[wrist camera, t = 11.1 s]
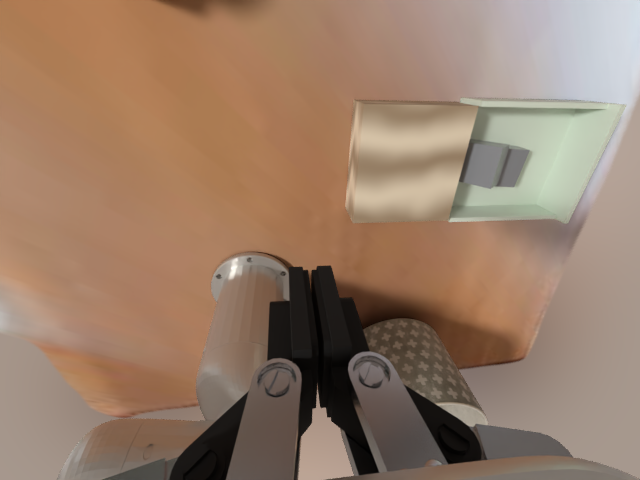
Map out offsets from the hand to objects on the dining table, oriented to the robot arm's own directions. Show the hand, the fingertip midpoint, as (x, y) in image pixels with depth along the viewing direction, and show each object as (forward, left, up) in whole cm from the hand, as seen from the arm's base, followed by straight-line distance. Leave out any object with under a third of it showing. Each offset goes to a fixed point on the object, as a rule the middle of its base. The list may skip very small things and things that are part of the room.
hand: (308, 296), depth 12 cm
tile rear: (-2, -28, -26) cm, 38 cm away
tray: (-2, -29, -29) cm, 41 cm away
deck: (-2, -14, -29) cm, 32 cm away
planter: (-38, -18, -29) cm, 51 cm away
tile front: (-2, -23, -25) cm, 34 cm away
